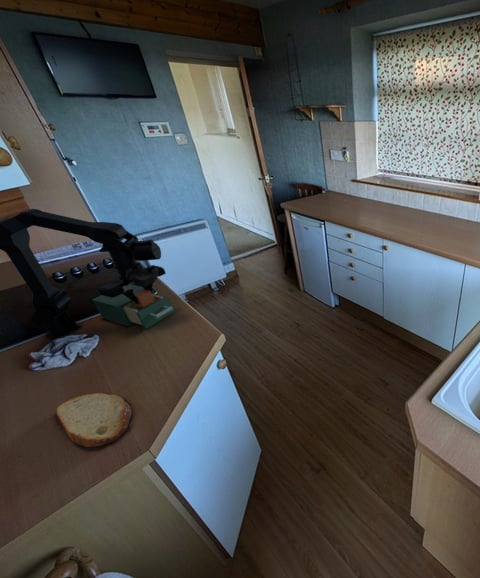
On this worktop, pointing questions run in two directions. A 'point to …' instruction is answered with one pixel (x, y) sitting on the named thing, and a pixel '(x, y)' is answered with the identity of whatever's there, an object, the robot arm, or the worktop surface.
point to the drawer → (149, 311)
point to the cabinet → (115, 306)
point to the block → (144, 297)
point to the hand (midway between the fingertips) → (143, 300)
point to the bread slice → (94, 418)
